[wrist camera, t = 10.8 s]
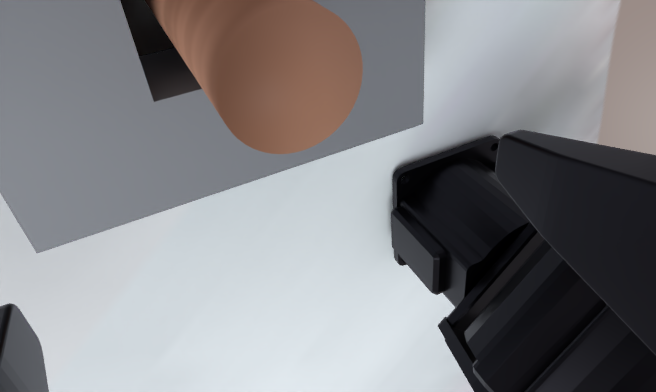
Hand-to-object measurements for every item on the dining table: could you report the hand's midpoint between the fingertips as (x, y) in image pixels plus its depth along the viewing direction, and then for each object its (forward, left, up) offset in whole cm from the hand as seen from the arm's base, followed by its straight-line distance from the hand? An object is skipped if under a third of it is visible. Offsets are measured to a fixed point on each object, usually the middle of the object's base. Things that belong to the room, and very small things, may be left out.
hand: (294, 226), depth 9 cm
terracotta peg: (-1, -2, -12) cm, 12 cm away
